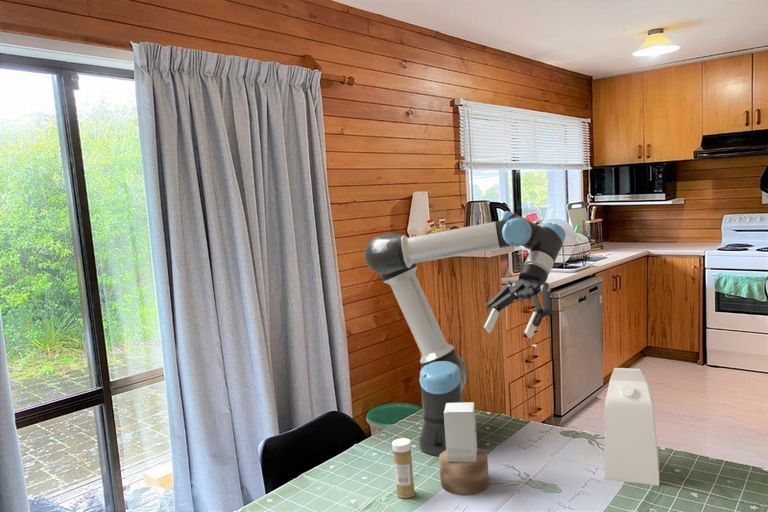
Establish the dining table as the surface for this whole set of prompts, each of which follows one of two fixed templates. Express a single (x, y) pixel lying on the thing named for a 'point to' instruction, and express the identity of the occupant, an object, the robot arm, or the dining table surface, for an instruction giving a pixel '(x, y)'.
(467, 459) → the supplement box
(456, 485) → the brown cylinder
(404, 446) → the sprinkles bottle
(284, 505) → the dining table surface
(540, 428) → the dining table surface
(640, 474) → the milk
